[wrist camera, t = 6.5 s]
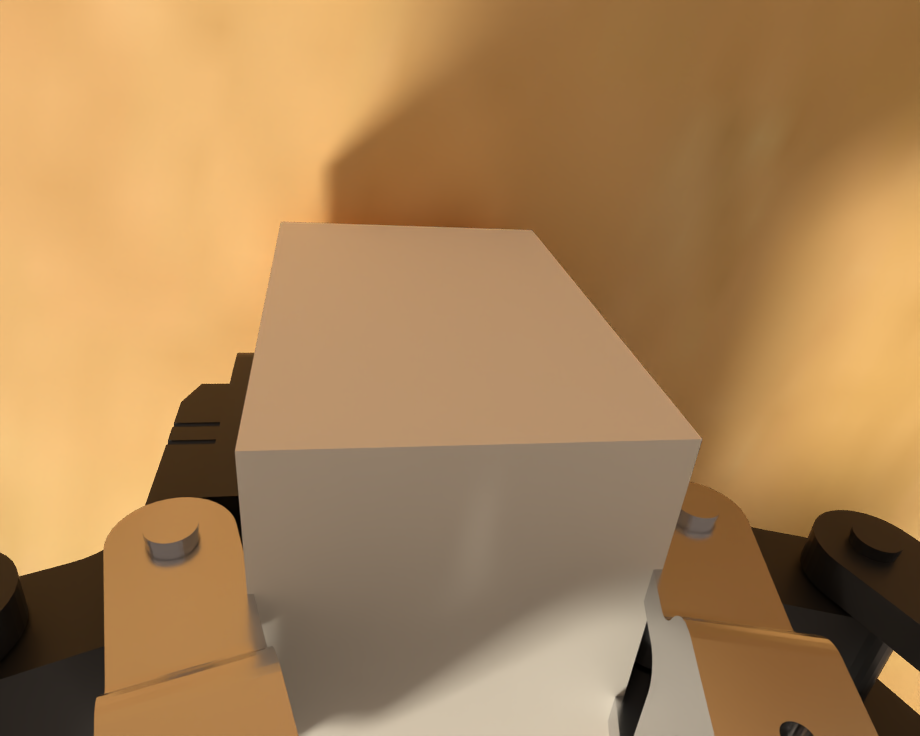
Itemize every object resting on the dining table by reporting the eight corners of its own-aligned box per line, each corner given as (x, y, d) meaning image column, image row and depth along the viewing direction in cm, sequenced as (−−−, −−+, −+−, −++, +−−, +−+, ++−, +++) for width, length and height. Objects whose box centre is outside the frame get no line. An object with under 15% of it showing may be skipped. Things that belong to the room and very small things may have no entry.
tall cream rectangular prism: (534, 229, 11) (708, 438, 6) (468, 701, 17) (529, 1014, 12) (277, 221, 11) (227, 450, 5) (298, 718, 16) (283, 1059, 11)
